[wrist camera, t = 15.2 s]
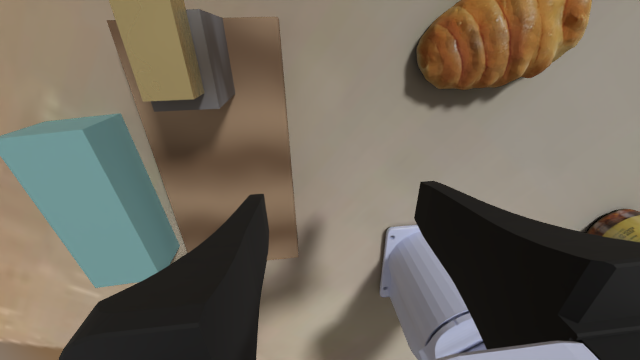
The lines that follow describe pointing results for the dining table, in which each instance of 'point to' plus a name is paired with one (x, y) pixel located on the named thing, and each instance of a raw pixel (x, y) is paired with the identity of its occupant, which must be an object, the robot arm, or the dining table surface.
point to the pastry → (499, 40)
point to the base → (225, 131)
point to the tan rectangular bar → (159, 48)
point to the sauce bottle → (619, 225)
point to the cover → (94, 195)
